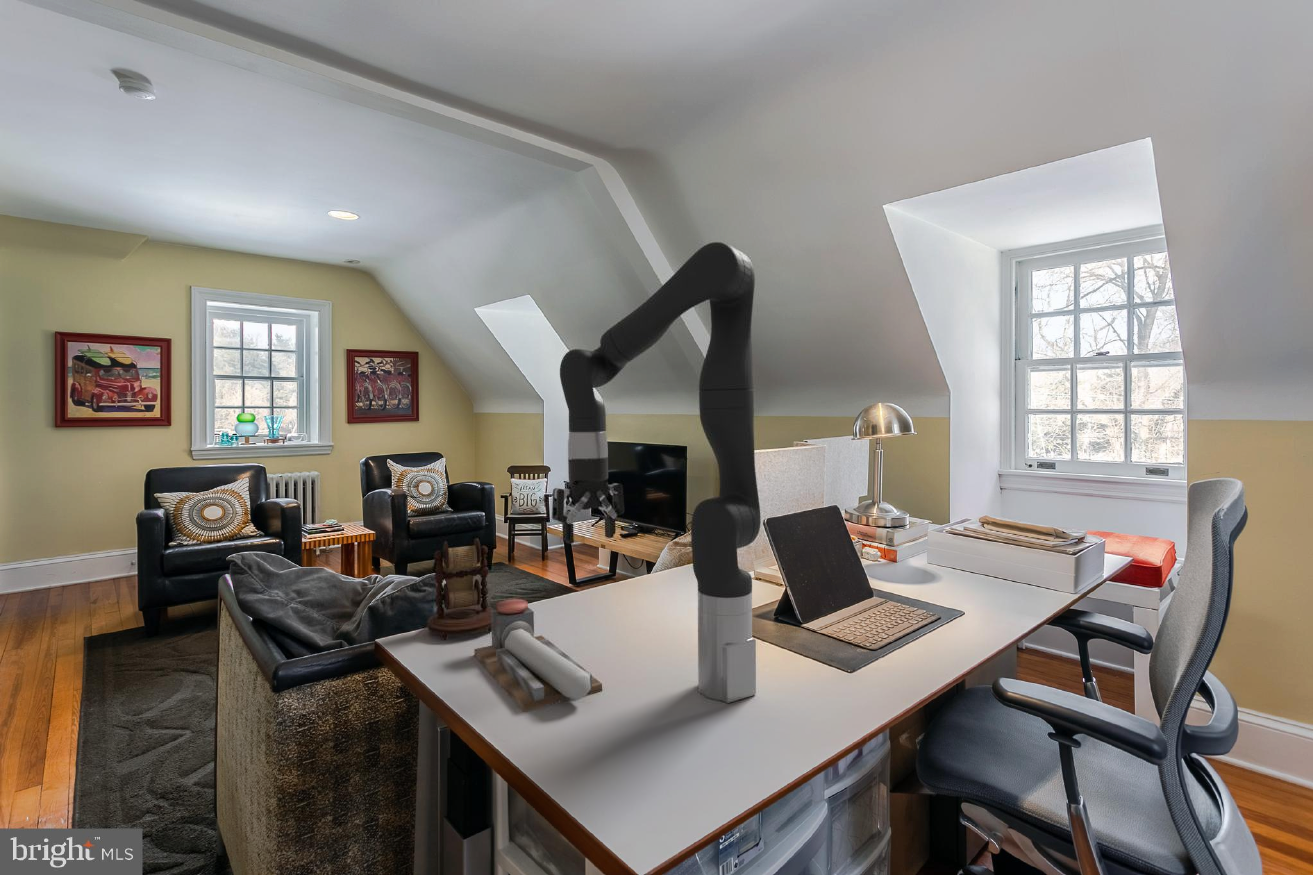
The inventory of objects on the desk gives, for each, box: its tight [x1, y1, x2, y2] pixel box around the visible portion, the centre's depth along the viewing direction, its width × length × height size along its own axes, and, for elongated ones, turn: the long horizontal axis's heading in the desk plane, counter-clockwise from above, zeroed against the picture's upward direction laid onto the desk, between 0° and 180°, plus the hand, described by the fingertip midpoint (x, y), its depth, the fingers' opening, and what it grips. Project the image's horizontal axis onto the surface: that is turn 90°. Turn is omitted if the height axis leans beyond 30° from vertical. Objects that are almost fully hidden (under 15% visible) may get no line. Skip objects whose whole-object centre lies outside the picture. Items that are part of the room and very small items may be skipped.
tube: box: [505, 629, 591, 701], centre depth 113 cm, size 5×5×25 cm
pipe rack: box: [473, 598, 603, 712], centre depth 118 cm, size 28×14×10 cm, turn 32°
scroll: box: [426, 537, 492, 642], centre depth 141 cm, size 15×15×20 cm
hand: (589, 540), depth 123 cm, fingers open, 8 cm apart
